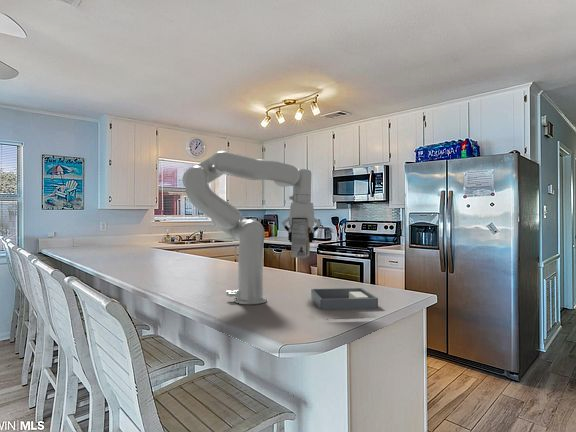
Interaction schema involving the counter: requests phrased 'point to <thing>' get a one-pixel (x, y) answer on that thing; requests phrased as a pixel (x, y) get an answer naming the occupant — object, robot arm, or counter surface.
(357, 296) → the cream rectangular block
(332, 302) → the tote
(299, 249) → the coffee box
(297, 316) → the counter surface
